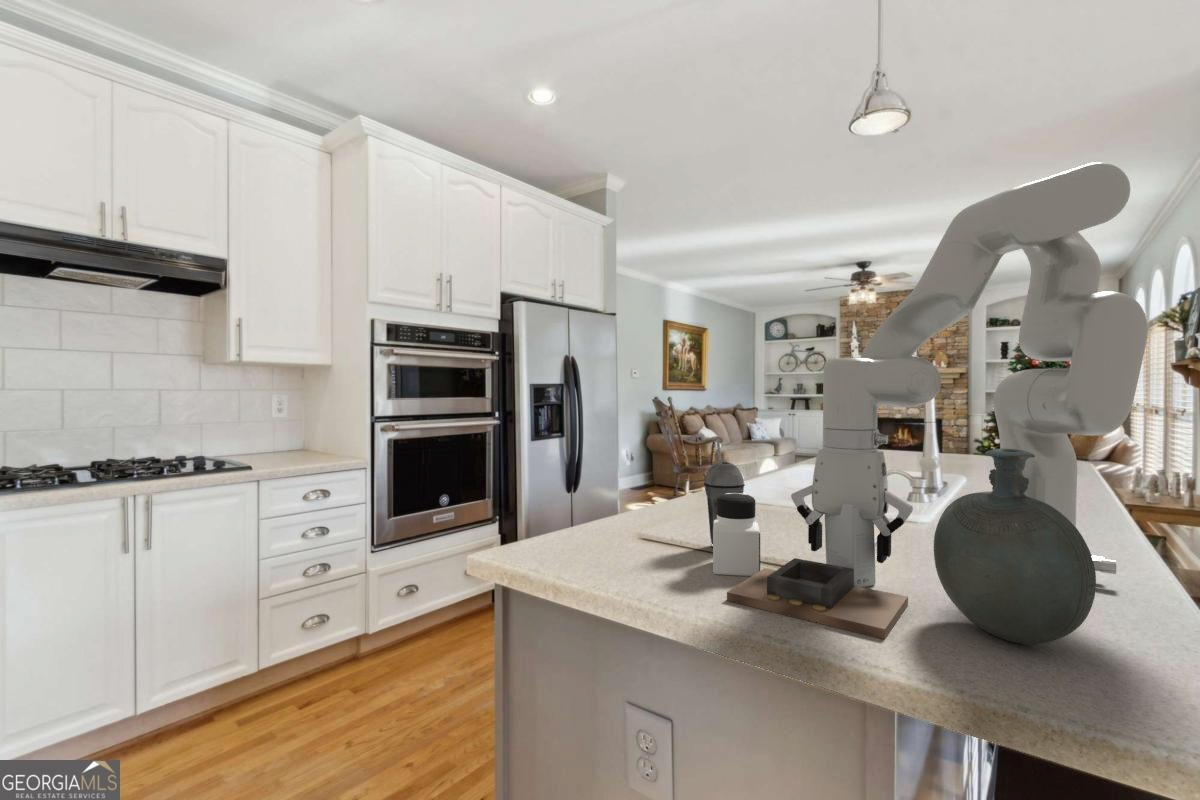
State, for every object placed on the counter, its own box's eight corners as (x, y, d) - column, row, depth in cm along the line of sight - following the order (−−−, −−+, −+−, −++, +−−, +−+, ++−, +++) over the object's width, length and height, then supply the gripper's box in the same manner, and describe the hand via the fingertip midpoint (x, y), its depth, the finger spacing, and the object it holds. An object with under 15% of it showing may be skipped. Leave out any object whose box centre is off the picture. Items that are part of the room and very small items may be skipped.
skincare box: (877, 585, 86) (877, 503, 86) (852, 589, 84) (853, 506, 84) (846, 572, 92) (846, 496, 91) (822, 576, 90) (823, 498, 90)
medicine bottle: (760, 577, 90) (760, 499, 90) (713, 574, 91) (712, 498, 91) (757, 563, 97) (757, 491, 97) (713, 561, 98) (713, 490, 98)
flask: (1002, 671, 60) (1005, 459, 60) (918, 608, 77) (919, 442, 77) (1118, 672, 60) (1122, 458, 59) (1008, 608, 77) (1010, 441, 76)
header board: (907, 605, 78) (908, 577, 78) (884, 639, 68) (885, 607, 68) (764, 575, 91) (764, 552, 90) (726, 600, 80) (726, 574, 80)
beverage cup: (749, 553, 103) (749, 439, 102) (707, 553, 103) (707, 439, 102) (739, 541, 110) (739, 435, 109) (700, 542, 110) (700, 436, 109)
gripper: (919, 442, 85) (917, 559, 86) (800, 435, 96) (799, 540, 96) (908, 446, 79) (906, 572, 80) (783, 439, 90) (782, 550, 90)
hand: (848, 554), depth 88 cm, fingers open, 9 cm apart
